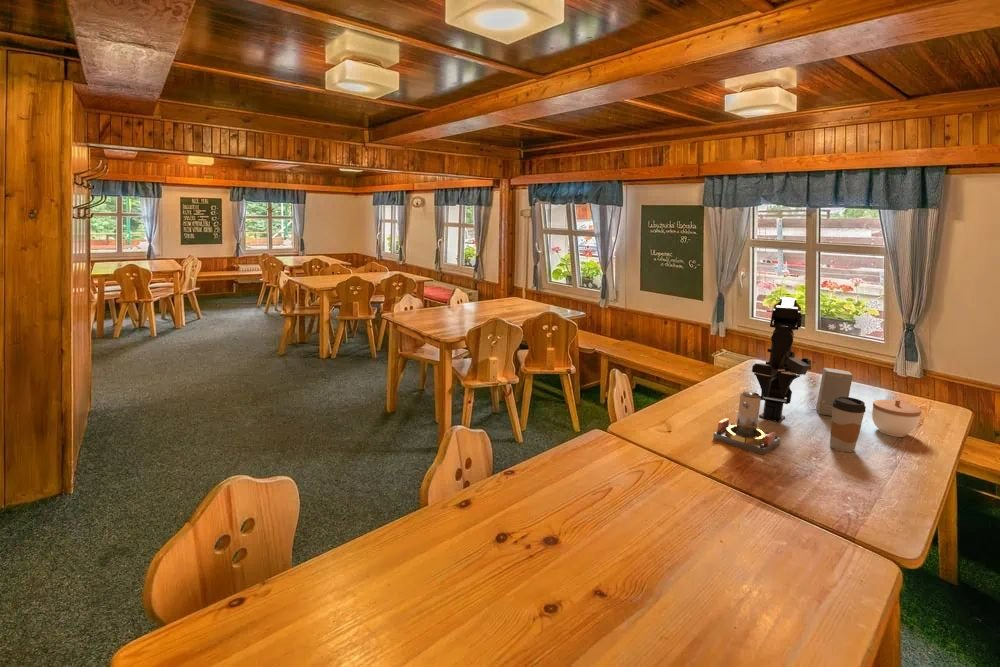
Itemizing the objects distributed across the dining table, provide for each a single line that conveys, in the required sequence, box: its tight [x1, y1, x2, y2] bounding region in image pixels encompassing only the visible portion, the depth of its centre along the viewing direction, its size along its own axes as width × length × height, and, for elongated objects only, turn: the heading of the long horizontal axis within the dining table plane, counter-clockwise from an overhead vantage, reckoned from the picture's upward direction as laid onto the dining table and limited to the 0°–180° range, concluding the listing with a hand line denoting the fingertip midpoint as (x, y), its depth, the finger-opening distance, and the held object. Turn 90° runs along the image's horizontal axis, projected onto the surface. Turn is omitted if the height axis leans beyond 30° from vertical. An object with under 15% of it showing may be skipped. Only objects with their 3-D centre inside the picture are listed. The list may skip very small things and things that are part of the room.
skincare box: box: [815, 367, 854, 417], centre depth 188 cm, size 8×7×16 cm
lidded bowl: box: [871, 399, 922, 438], centre depth 173 cm, size 13×13×11 cm
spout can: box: [736, 390, 762, 438], centre depth 160 cm, size 8×6×14 cm, turn 138°
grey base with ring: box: [712, 417, 781, 456], centre depth 163 cm, size 12×15×5 cm
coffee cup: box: [829, 397, 867, 453], centre depth 159 cm, size 8×8×15 cm
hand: (774, 396), depth 167 cm, fingers open, 9 cm apart
